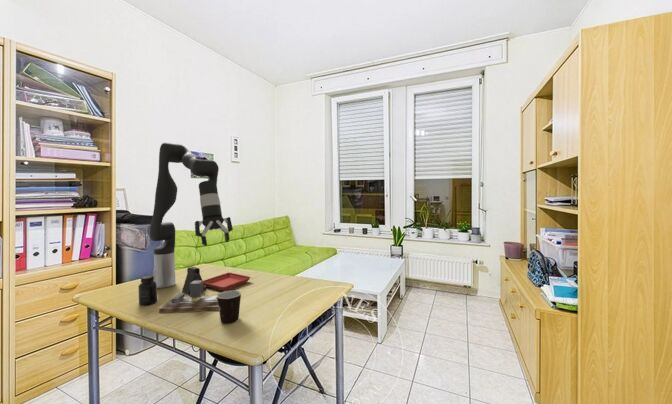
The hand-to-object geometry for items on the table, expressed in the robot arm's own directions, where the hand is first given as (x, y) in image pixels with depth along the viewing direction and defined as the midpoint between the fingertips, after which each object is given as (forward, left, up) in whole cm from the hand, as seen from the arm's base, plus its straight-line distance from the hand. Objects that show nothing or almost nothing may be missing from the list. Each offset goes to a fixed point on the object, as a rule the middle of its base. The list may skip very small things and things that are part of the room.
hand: (216, 243), depth 118 cm
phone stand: (-19, +24, -28) cm, 42 cm away
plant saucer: (-6, +33, -28) cm, 44 cm away
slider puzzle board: (-9, +6, -28) cm, 30 cm away
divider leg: (-10, +6, -25) cm, 28 cm away
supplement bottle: (-33, +10, -28) cm, 45 cm away
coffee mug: (+8, -12, -28) cm, 31 cm away
